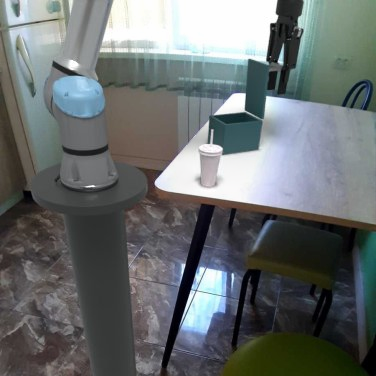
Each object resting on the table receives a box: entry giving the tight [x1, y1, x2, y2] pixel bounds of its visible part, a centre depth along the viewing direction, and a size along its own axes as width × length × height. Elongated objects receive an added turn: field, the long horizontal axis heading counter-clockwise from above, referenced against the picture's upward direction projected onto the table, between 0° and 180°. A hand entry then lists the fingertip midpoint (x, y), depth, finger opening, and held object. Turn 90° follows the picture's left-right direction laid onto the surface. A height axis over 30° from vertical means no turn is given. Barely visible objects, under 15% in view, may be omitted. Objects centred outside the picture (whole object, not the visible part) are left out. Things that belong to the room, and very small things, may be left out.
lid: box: [244, 58, 283, 120], centre depth 129 cm, size 14×11×8 cm
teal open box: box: [207, 111, 263, 156], centre depth 134 cm, size 14×11×9 cm
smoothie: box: [197, 129, 223, 188], centre depth 109 cm, size 6×6×14 cm
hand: (275, 91), depth 131 cm, fingers closed on lid, 5 cm apart
